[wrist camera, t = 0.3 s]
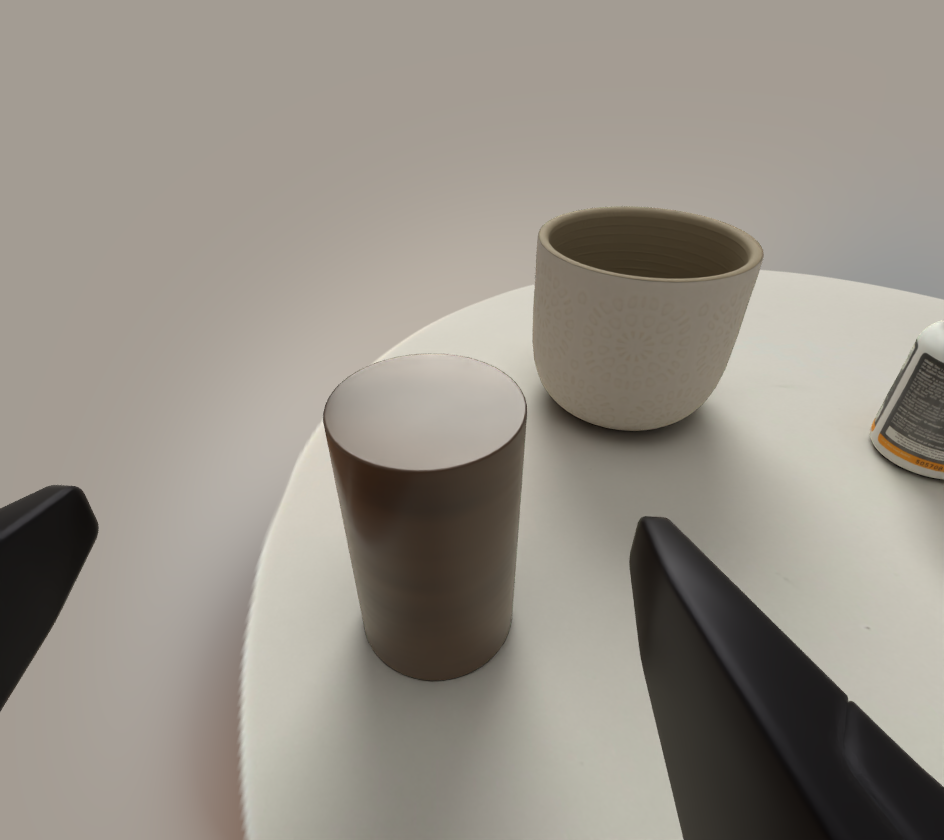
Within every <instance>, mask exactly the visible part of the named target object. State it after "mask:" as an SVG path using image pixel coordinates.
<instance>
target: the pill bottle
mask: <svg viewBox="0 0 944 840" xmlns="http://www.w3.org/2000/svg"><path fill="white" fill-rule="evenodd" d="M870 438H871V441H872V443H873V445H874V446H875V447H876V449H877V450H878V451H879V452H880V453H881V454H882V455H883V456H885V457H886V458H887V459H889V460H890V461H891V462H893V463H895V464H896V465H898V466H900V467H902V468H904V469H907V470H909V471H911V472H914V473H917V474H920V475H924V476H927V477H932V478H938V479H944V320H942V321H939V322H936V323H934V324H932V325H930V326H928V327H927V328H926V329H924V330H923V331H922V332H921V334H920V335H919V336H918V338H917V339H916V342H915V343H914V345H913V347H912V349H911V351H910V353H909V355H908V357H907V359H906V361H905V363H904V365H903V367H902V369H901V371H900V373H899V375H898V376H897V378H896V380H895V381H894V384H893V385H892V387H891V389H890V391H889V392H888V394H887V396H886V398H885V400H884V402H883V404H882V406H881V408H880V410H879V412H878V413H877V415H876V418H875V419H874V421H873V424H872V426H871V429H870Z"/></svg>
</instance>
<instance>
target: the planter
mask: <svg viewBox="0 0 944 840" xmlns="http://www.w3.org/2000/svg"><path fill="white" fill-rule="evenodd" d="M763 256H764V254H763V249H762V247H761V245H760V244H759V243H758V242H757V241H756V240H755V239H754V238H753V237H752V236H750V235H749V234H747V233H746V232H744V231H742V230H740V229H738V228H736V227H734V226H731V225H729V224H727V223H724V222H721V221H718V220H715V219H712V218H708V217H705V216H701V215H696V214H692V213H686V212H681V211H675V210H668V209H660V208H649V207H600V208H591V209H584V210H578V211H574V212H570V213H566V214H563V215H560V216H558V217H556V218H553V219H551V220H550V221H548V222H547V223H546V224H544V225H543V226H542V227H541V229H540V231H539V233H538V241H537V254H536V275H535V291H534V306H533V351H534V360H535V364H536V368H537V371H538V374H539V377H540V379H541V382H542V384H543V386H544V387H545V389H546V390H547V392H548V393H549V395H550V396H551V397H552V398H553V399H554V400H555V401H556V402H557V403H558V404H559V405H560V406H561V407H562V408H564V409H565V410H566V411H568V412H569V413H571V414H572V415H574V416H576V417H578V418H580V419H582V420H584V421H586V422H589V423H591V424H594V425H598V426H601V427H605V428H610V429H616V430H626V431H640V430H650V429H656V428H661V427H664V426H667V425H670V424H673V423H675V422H678V421H680V420H682V419H684V418H685V417H687V416H689V415H690V414H692V413H693V412H694V411H695V410H697V409H698V408H699V407H700V406H701V405H702V404H703V403H704V402H705V401H706V400H707V398H708V397H709V396H710V395H711V393H712V392H713V390H714V389H715V388H716V386H717V384H718V382H719V380H720V378H721V376H722V374H723V372H724V371H725V368H726V366H727V363H728V360H729V358H730V355H731V352H732V350H733V347H734V344H735V342H736V339H737V336H738V333H739V330H740V327H741V324H742V321H743V318H744V315H745V312H746V309H747V306H748V303H749V300H750V297H751V294H752V291H753V288H754V285H755V283H756V280H757V277H758V274H759V270H760V267H761V264H762V260H763Z"/></svg>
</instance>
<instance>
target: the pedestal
mask: <svg viewBox="0 0 944 840" xmlns="http://www.w3.org/2000/svg"><path fill="white" fill-rule="evenodd" d="M526 420H527V404H526V400H525V397H524V395H523V393H522V391H521V389H520V388H519V386H518V385H517V384H516V383H515V382H514V381H513V380H512V379H511V378H510V377H509V376H508V375H507V374H505V373H504V372H502V371H501V370H499V369H497V368H495V367H493V366H491V365H489V364H487V363H484V362H481V361H478V360H475V359H472V358H468V357H463V356H457V355H449V354H414V355H406V356H400V357H395V358H391V359H387V360H383V361H380V362H377V363H374V364H372V365H369V366H367V367H365V368H363V369H361V370H359V371H357V372H355V373H354V374H352V375H351V376H349V377H348V378H346V379H345V380H344V381H343V382H342V383H340V385H338V386H337V387H336V388H335V390H334V391H333V392H332V394H331V395H330V397H329V398H328V401H327V403H326V405H325V409H324V413H323V422H324V427H325V432H326V437H327V442H328V447H329V452H330V457H331V462H332V467H333V472H334V478H335V483H336V488H337V493H338V498H339V503H340V508H341V513H342V518H343V523H344V528H345V533H346V538H347V543H348V548H349V553H350V558H351V563H352V568H353V573H354V578H355V583H356V588H357V593H358V598H359V603H360V608H361V613H362V618H363V623H364V628H365V633H366V636H367V639H368V641H369V643H370V645H371V647H372V649H373V651H374V652H375V653H376V654H377V656H378V657H379V658H380V659H381V660H382V661H383V662H384V663H385V664H387V665H388V666H389V667H391V668H392V669H394V670H396V671H398V672H400V673H402V674H404V675H406V676H409V677H412V678H417V679H422V680H433V681H436V680H447V679H453V678H457V677H460V676H463V675H466V674H468V673H470V672H472V671H474V670H476V669H478V668H479V667H481V666H482V665H484V664H485V663H486V662H488V661H489V660H490V659H491V658H492V657H493V656H494V655H495V654H496V653H497V652H498V650H499V649H500V648H501V646H502V645H503V643H504V641H505V639H506V637H507V635H508V632H509V629H510V626H511V620H512V610H513V597H514V583H515V570H516V556H517V542H518V529H519V515H520V502H521V488H522V474H523V461H524V447H525V434H526Z"/></svg>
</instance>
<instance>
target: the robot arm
mask: <svg viewBox="0 0 944 840" xmlns="http://www.w3.org/2000/svg"><path fill="white" fill-rule="evenodd" d="M97 535H98V522H97V520H96V517H95V515H94V513H93V511H92V509H91V507H90V505H89V502H88V500H87V498H86V496H85V494H84V493H83V491H82V490H81V489H80V488H78V487H76V486H64V485H63V486H62V485H51V486H48V487H45V488H43V489H41V490H39V491H37V492H35V493H33V494H30V495H28V496H26V497H24V498H22V499H20V500H18V501H15V502H13V503H11V504H9V505H7V506H5V507H3V508H1V509H0V711H1V710H2V708H3V706H4V705H5V703H6V702H7V700H8V698H9V697H10V695H11V693H12V692H13V690H14V688H15V687H16V685H17V684H18V682H19V680H20V679H21V677H22V676H23V674H24V672H25V671H26V669H27V667H28V666H29V664H30V663H31V661H32V659H33V658H34V656H35V655H36V653H37V651H38V650H39V648H40V647H41V645H42V643H43V642H44V640H45V638H46V637H47V635H48V633H49V632H50V630H51V628H52V626H53V625H54V623H55V621H56V619H57V617H58V616H59V614H60V612H61V610H62V608H63V606H64V604H65V602H66V600H67V598H68V596H69V593H70V592H71V589H72V587H73V585H74V583H75V581H76V579H77V577H78V575H79V573H80V571H81V569H82V567H83V565H84V563H85V561H86V559H87V557H88V555H89V553H90V551H91V549H92V547H93V544H94V543H95V540H96V538H97ZM630 574H631V582H632V591H633V599H634V608H635V616H636V624H637V633H638V641H639V648H640V656H641V661H642V666H643V671H644V675H645V679H646V684H647V688H648V692H649V696H650V700H651V704H652V709H653V713H654V717H655V721H656V725H657V730H658V734H659V738H660V742H661V746H662V751H663V755H664V759H665V763H666V767H667V772H668V776H669V780H670V784H671V788H672V792H673V797H674V801H675V805H676V809H677V813H678V818H679V822H680V826H681V830H682V834H683V839H684V840H944V787H943V786H942V785H941V784H940V783H938V782H937V781H936V780H935V779H934V778H933V777H932V776H931V775H930V774H928V773H927V772H926V771H925V770H924V769H923V768H922V767H921V766H919V765H918V764H917V763H916V762H915V761H914V760H913V759H912V758H911V757H910V756H909V755H908V754H907V753H906V752H905V751H904V750H903V749H902V748H901V747H900V746H899V745H897V744H896V743H895V742H894V741H893V740H892V739H891V738H890V737H889V736H888V735H887V734H886V733H885V732H884V731H883V730H882V729H881V728H880V727H879V726H878V725H877V724H876V723H875V722H874V721H873V720H872V719H871V718H870V717H869V716H868V715H867V714H866V713H865V712H863V711H862V710H861V709H860V708H859V707H858V706H857V705H856V704H855V703H854V702H853V701H849V702H848V696H847V695H846V694H845V693H844V692H843V691H842V690H841V689H840V688H839V687H838V686H837V685H836V684H835V683H834V682H833V681H832V680H831V679H830V678H829V677H828V676H827V675H826V674H825V673H824V672H823V671H822V670H821V669H820V668H819V667H818V666H817V665H816V664H815V663H814V662H813V661H812V660H811V659H810V658H809V657H808V656H807V655H806V654H805V653H804V652H803V651H802V650H801V649H800V648H799V647H798V646H797V645H796V644H795V643H794V642H793V641H792V640H791V639H789V638H788V637H787V636H786V635H785V634H784V633H783V632H782V631H781V630H780V629H779V628H778V627H777V626H776V625H775V624H774V623H773V622H772V621H771V620H770V619H769V618H768V617H767V616H766V615H765V614H764V613H763V612H762V611H761V610H760V609H759V608H758V607H757V606H756V605H755V604H754V603H753V602H752V601H751V600H750V599H749V598H748V597H747V596H746V595H745V594H744V593H743V592H742V591H741V590H740V589H739V588H738V587H737V586H736V585H735V584H734V583H733V582H732V581H731V580H730V579H729V578H728V577H727V576H726V575H725V574H724V573H723V572H722V571H721V570H720V569H719V568H718V567H717V566H716V565H715V564H714V563H713V562H712V561H711V560H710V559H709V558H708V557H707V556H706V555H705V554H704V553H703V552H702V551H701V550H700V549H699V548H698V547H697V546H696V545H695V544H694V543H693V542H692V541H691V540H690V539H689V538H688V537H687V536H686V535H684V534H683V533H682V532H681V531H680V530H679V529H678V528H677V527H676V526H675V525H674V524H673V523H672V522H671V521H670V520H669V519H667V518H664V517H647V516H645V517H642V518H641V519H640V520H639V522H638V525H637V529H636V532H635V536H634V540H633V544H632V548H631V552H630Z"/></svg>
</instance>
